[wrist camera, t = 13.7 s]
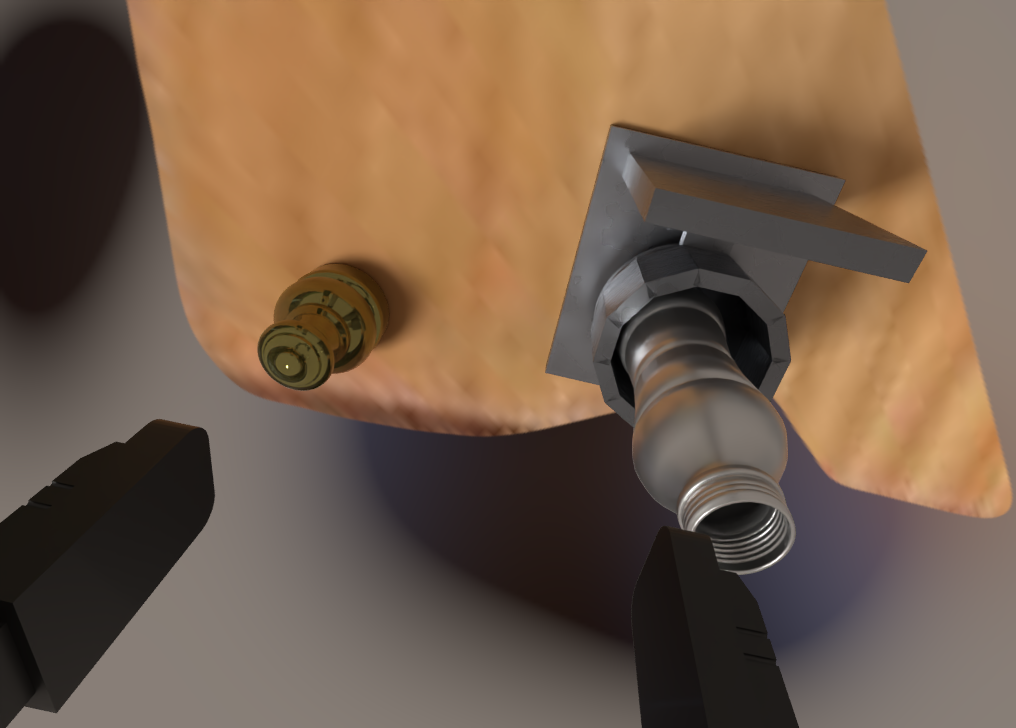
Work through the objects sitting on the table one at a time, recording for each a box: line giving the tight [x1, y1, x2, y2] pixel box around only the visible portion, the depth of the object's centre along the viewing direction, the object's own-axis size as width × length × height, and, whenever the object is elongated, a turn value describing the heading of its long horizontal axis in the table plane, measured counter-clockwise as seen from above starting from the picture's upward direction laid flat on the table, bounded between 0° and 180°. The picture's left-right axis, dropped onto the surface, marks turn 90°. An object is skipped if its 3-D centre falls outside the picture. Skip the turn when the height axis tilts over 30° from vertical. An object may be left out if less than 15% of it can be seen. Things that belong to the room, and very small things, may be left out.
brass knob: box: [258, 264, 389, 391], centre depth 40 cm, size 7×8×10 cm
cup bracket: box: [545, 125, 927, 428], centre depth 34 cm, size 18×15×14 cm
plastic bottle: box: [616, 287, 796, 575], centre depth 29 cm, size 6×7×20 cm
